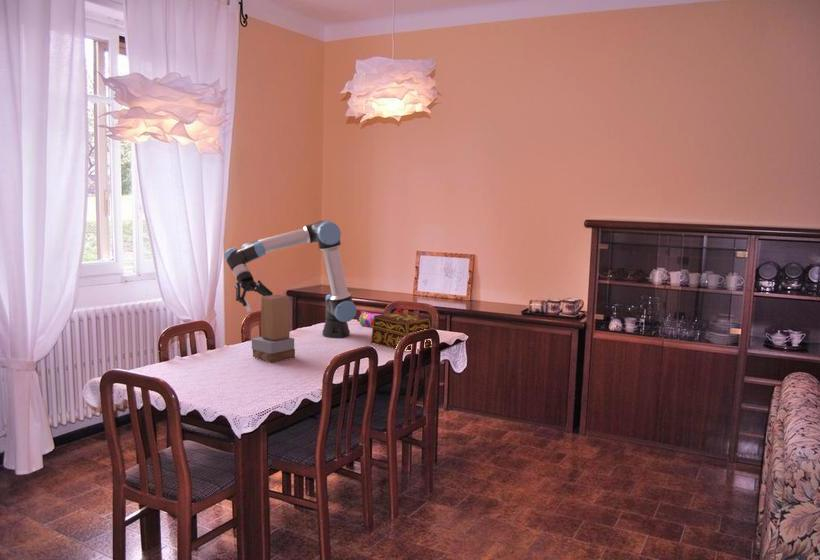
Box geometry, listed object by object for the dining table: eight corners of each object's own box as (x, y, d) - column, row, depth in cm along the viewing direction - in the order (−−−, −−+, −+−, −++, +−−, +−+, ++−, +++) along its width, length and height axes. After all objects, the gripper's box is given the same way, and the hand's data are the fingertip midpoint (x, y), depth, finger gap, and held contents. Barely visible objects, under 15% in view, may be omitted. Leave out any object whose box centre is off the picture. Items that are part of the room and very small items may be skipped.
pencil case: (356, 326, 393) (356, 311, 392) (366, 324, 401) (366, 309, 399) (383, 331, 380) (383, 316, 379) (394, 329, 387) (394, 314, 386)
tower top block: (251, 349, 311) (251, 338, 311) (275, 344, 322) (274, 334, 322) (271, 353, 303) (271, 343, 302) (294, 348, 314) (294, 338, 313)
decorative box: (370, 343, 350) (371, 315, 348) (396, 338, 363) (396, 311, 361) (406, 352, 330) (407, 323, 328) (432, 347, 343) (433, 319, 341)
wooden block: (277, 335, 319) (277, 294, 317) (290, 338, 313) (290, 296, 310) (260, 337, 312) (260, 296, 310) (273, 341, 305) (273, 298, 303)
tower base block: (252, 358, 313) (252, 348, 312) (276, 353, 323) (276, 343, 323) (270, 364, 304) (270, 353, 303) (294, 358, 314) (294, 348, 314)
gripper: (260, 278, 336) (279, 310, 328) (218, 282, 318) (236, 317, 310) (267, 268, 332) (285, 301, 324) (224, 272, 313) (243, 307, 306)
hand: (261, 309), depth 317 cm, fingers open, 13 cm apart
